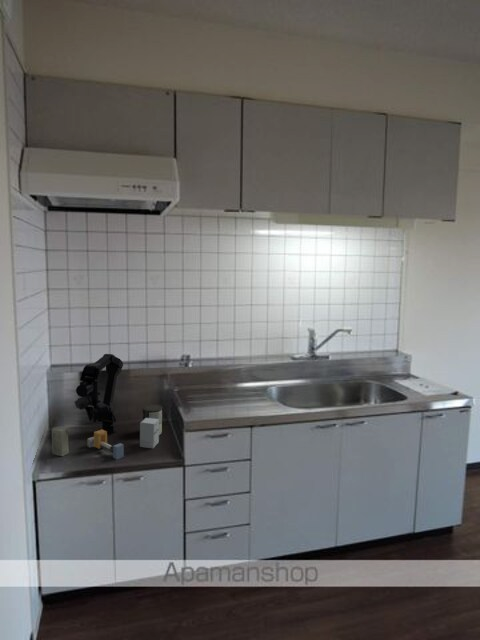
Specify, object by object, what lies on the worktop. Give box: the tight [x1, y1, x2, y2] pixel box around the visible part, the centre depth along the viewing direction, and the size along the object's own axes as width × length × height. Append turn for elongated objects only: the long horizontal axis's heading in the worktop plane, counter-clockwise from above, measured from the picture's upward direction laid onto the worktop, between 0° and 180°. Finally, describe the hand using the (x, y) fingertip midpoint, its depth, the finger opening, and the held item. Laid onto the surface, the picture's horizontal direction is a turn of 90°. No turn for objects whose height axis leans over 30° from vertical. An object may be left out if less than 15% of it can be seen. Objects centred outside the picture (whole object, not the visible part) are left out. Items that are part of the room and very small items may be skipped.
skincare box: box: [51, 426, 70, 457], centre depth 217 cm, size 6×4×12 cm
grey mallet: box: [86, 436, 125, 460], centre depth 222 cm, size 22×6×6 cm, turn 51°
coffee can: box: [142, 403, 163, 436], centre depth 245 cm, size 10×10×14 cm
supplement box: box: [139, 418, 160, 449], centre depth 230 cm, size 7×7×13 cm
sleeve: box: [93, 429, 108, 449], centre depth 224 cm, size 4×5×7 cm
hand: (92, 421), depth 227 cm, fingers open, 3 cm apart
